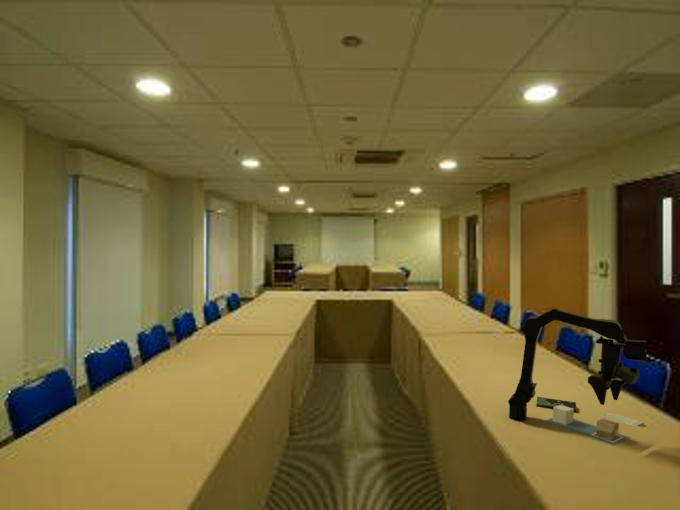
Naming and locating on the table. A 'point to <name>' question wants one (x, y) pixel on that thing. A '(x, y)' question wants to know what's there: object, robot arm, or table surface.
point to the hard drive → (622, 419)
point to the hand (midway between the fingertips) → (608, 402)
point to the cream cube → (563, 414)
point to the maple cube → (607, 429)
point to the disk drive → (554, 403)
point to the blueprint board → (587, 431)
